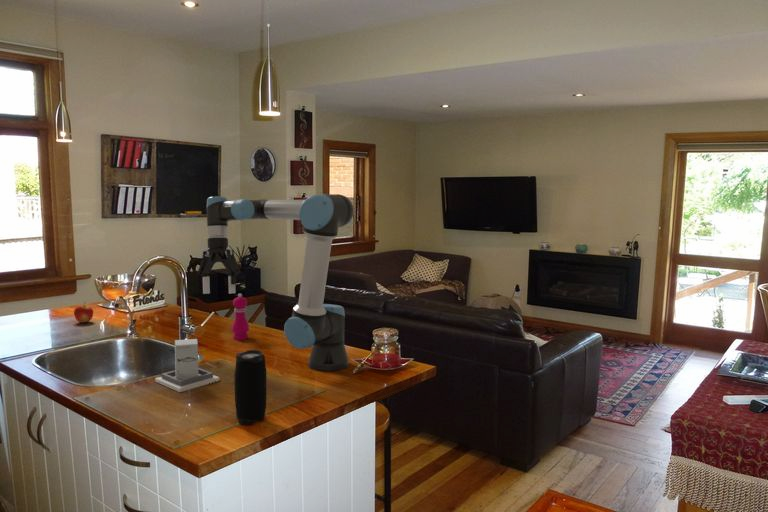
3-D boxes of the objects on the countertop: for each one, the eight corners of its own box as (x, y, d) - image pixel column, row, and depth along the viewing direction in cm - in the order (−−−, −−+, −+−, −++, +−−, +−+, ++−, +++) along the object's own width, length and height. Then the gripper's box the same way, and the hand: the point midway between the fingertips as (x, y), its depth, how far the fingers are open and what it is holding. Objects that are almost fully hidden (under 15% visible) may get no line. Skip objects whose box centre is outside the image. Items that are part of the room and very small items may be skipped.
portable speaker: (230, 425, 157) (229, 357, 155) (242, 412, 167) (241, 348, 164) (260, 427, 157) (260, 358, 154) (270, 414, 166) (269, 349, 164)
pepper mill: (228, 339, 246) (227, 294, 244) (238, 335, 253) (238, 291, 250) (242, 341, 243) (241, 295, 241) (252, 337, 250) (251, 292, 248)
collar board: (219, 380, 194) (219, 372, 193) (179, 392, 182) (179, 384, 182) (194, 371, 203) (194, 363, 203) (155, 381, 191) (155, 373, 191)
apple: (82, 320, 275) (81, 300, 274) (97, 321, 274) (96, 300, 273) (70, 324, 267) (69, 303, 266) (86, 325, 266) (85, 304, 265)
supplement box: (175, 382, 188) (174, 345, 186) (175, 375, 194) (174, 339, 193) (198, 380, 190) (198, 343, 189) (197, 373, 197) (197, 338, 196)
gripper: (249, 236, 211) (250, 292, 211) (202, 239, 224) (203, 293, 223) (234, 235, 205) (235, 293, 204) (187, 239, 217) (188, 294, 217)
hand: (219, 293), depth 214 cm, fingers open, 13 cm apart
